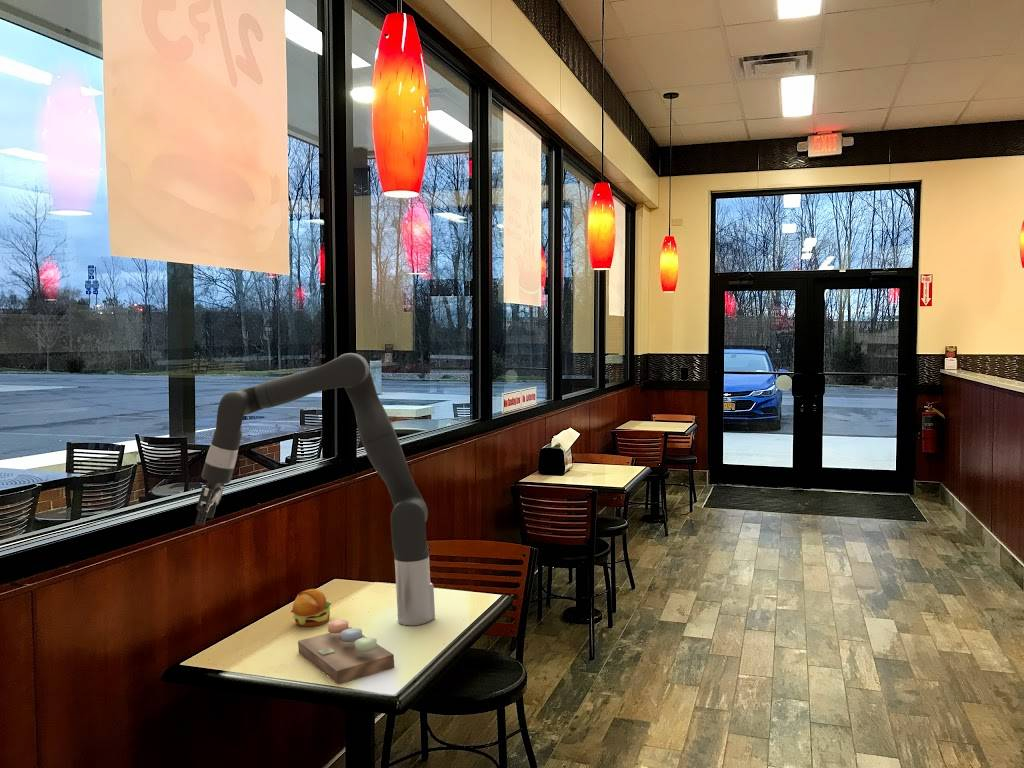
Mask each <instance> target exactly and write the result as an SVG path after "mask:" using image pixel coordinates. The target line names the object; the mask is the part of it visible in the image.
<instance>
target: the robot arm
mask: <svg viewBox="0 0 1024 768" xmlns="http://www.w3.org/2000/svg"><path fill="white" fill-rule="evenodd" d="M341 388H344V390H345V391H346V394H347V396H348V398H349V400H350V402H351V404H352V407H353V410H354V415H355V419H356V425H357V429H358V430H357V431H358V433H359V438H360V441H361V443H362V446H363V447H364V450H365V453H366V456H367V458H368V460H369V462H370V463H371V466H373V468H374V469H375V471H376V472H377V474H378V475H379V477H380V478H381V479H382V481H383V482H384V484H385V486H386V488H387V490H388V492H389V495H390V498H391V502H392V504H393V509H392V511H391V514H390V533H391V545H392V551H393V554H394V569H395V570H394V571H395V590H396V608H397V611H396V612H397V622H398V624H400V625H404V626H419V625H424V624H427V623H430V622H431V621H432V620H435V619H436V613H435V612H436V610H435V591H434V589H435V588H434V584H433V583H432V582H431V571H430V570H431V569H430V555H429V554H430V550H429V546H428V542H427V530H426V529H427V525H426V522H427V520H428V516H429V509H428V507H427V506H428V505H427V503H426V502H425V500H424V498H423V495H422V494H421V492H420V491H419V488H418V487H417V485H416V484H415V481H414V480H413V477H412V475H411V472H410V469H409V466H408V463H407V460H406V456H405V454H404V450H403V449H402V446H401V443H400V440H399V438H398V435H397V433H396V431H395V428H394V426H393V425H392V421H391V419H390V418H389V416H388V414H387V411H386V410H385V408H384V406H383V403H382V401H381V399H380V396H379V395H378V393H377V390H376V386H375V382H374V379H373V377H372V372H371V368H370V365H369V363H368V361H367V359H366V358H365V357H363V356H362V355H360V354H358V353H354V352H348V353H347V352H346V353H343V354H341V355H339V356H338V357H336V358H334V359H332V360H330V361H328V362H326V363H324V364H322V365H319V366H317V367H314V368H311V369H308V370H304V371H302V372H298V373H296V372H295V373H293V374H289V375H284V376H281V377H277V378H273V379H270V380H267V381H263V382H261V383H259V384H257V385H253V386H250V387H247V388H243V389H239V390H233V391H228V392H226V393H225V394H223V396H222V397H221V398H220V401H219V403H218V407H217V412H216V413H217V414H216V421H215V423H216V424H215V430H214V434H213V436H212V440H211V443H210V446H209V449H208V451H207V454H206V458H205V462H204V464H203V468H202V472H201V478H202V479H203V480H205V481H207V483H206V485H204V486H203V487H202V488H201V492H200V496H199V498H198V503H197V505H196V510H197V515H196V518H195V523H194V524H195V525H196V526H200V527H201V526H202V527H203V526H204V525H205V523H206V519H207V518H208V519H213V518H214V515H215V512H216V508H217V506H218V505H219V503H220V502H221V500H222V494H223V492H224V488H225V485H228V484H229V483H231V480H232V477H233V473H234V470H235V466H236V463H237V459H238V453H239V448H240V445H241V441H242V437H243V430H242V424H243V420H244V417H245V416H247V415H250V414H252V413H256V412H259V411H261V410H264V409H271V408H274V407H278V406H281V405H284V404H288V403H291V402H293V401H297V400H299V399H302V398H305V397H307V396H309V395H311V394H315V393H319V392H323V391H327V390H334V389H341ZM204 504H205V505H204Z"/></svg>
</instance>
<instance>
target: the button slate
mask: <svg viewBox="0 0 1024 768" xmlns="http://www.w3.org/2000/svg"><path fill="white" fill-rule="evenodd" d="M362 635H363V630H362V629H361V628H357V627H351V628H350V629H346V630H343V631H342V632H341V641H343V642H355V641H356V640H358V639H360V638H362Z"/></svg>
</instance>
